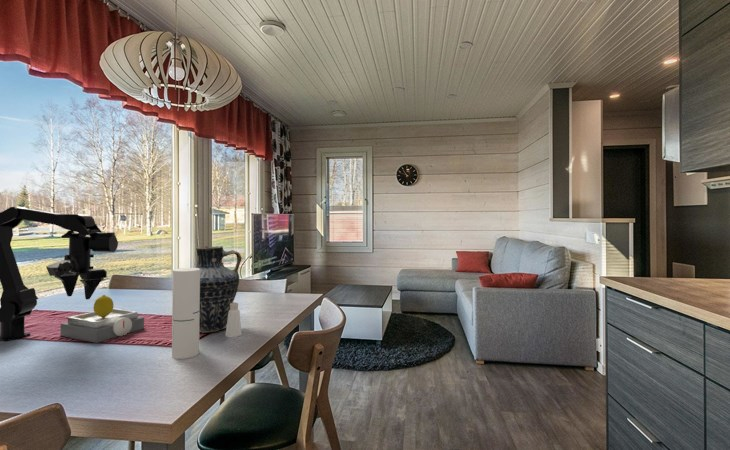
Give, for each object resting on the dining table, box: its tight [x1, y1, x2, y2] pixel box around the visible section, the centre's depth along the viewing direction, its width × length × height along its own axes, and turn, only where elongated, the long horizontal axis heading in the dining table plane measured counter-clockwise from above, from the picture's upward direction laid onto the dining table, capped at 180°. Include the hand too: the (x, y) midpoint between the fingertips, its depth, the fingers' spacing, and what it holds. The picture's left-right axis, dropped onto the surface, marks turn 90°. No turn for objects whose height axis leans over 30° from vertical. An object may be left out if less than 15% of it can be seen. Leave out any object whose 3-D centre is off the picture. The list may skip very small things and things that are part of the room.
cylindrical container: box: [171, 267, 200, 360], centre depth 102 cm, size 7×7×25 cm
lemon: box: [93, 294, 114, 318], centre depth 121 cm, size 6×6×8 cm
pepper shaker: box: [225, 302, 242, 339], centre depth 120 cm, size 5×5×11 cm
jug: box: [194, 245, 243, 333], centre depth 126 cm, size 21×19×30 cm
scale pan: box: [67, 307, 139, 328], centre depth 121 cm, size 14×14×2 cm
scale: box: [60, 316, 145, 344], centre depth 120 cm, size 19×16×6 cm
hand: (78, 297), depth 117 cm, fingers open, 9 cm apart
